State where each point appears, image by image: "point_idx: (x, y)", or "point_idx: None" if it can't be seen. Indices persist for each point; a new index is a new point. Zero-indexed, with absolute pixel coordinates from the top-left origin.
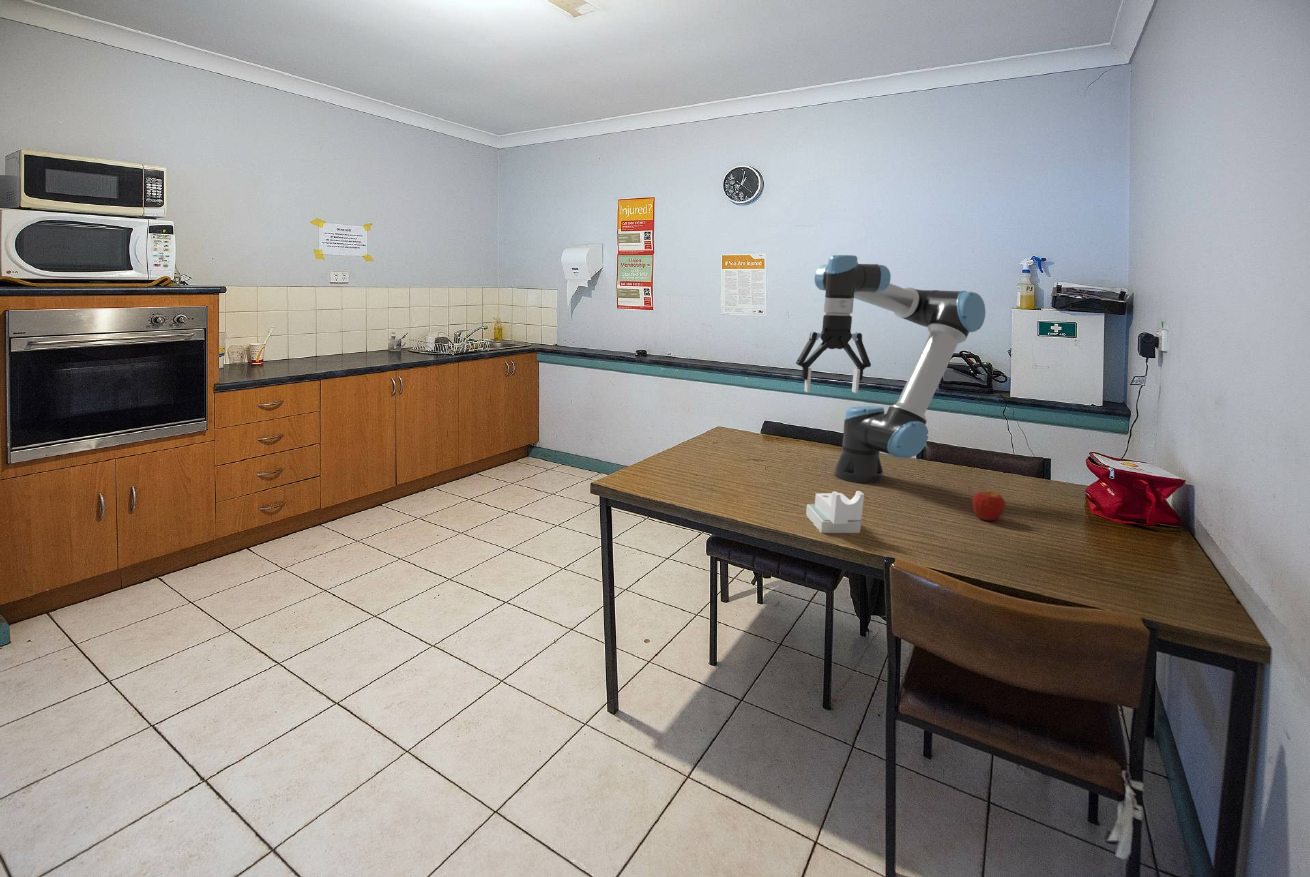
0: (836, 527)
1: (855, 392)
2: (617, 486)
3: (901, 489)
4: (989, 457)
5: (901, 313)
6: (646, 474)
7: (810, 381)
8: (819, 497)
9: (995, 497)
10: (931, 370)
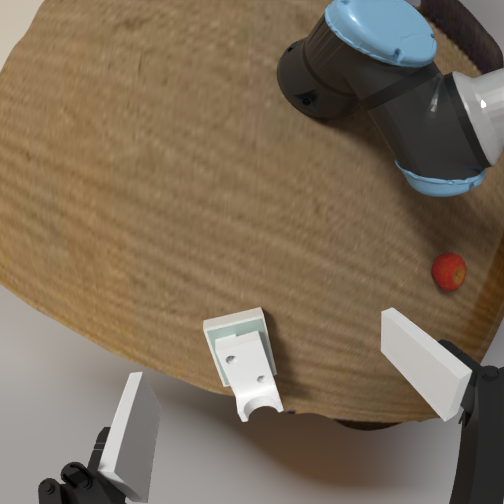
0: None
1: (383, 352)
2: None
3: (380, 150)
4: (472, 24)
5: None
6: None
7: (154, 446)
8: (221, 363)
9: (458, 286)
10: None
